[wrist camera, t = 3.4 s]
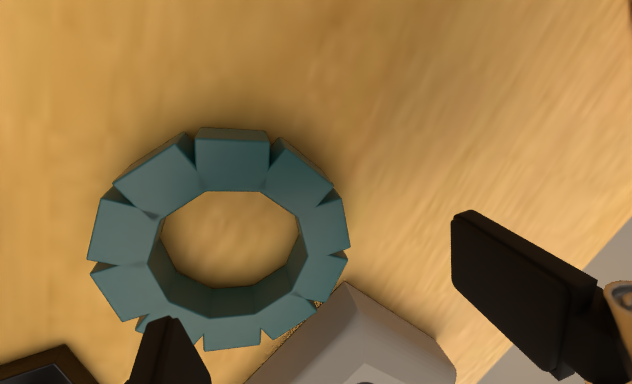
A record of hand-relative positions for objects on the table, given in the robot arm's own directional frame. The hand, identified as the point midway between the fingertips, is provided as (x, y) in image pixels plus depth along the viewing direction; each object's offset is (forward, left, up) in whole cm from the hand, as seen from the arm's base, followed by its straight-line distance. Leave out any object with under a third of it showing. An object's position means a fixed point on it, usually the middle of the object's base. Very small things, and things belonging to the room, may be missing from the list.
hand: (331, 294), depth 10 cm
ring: (+3, 0, -5) cm, 6 cm away
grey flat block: (+2, +13, -6) cm, 14 cm away
